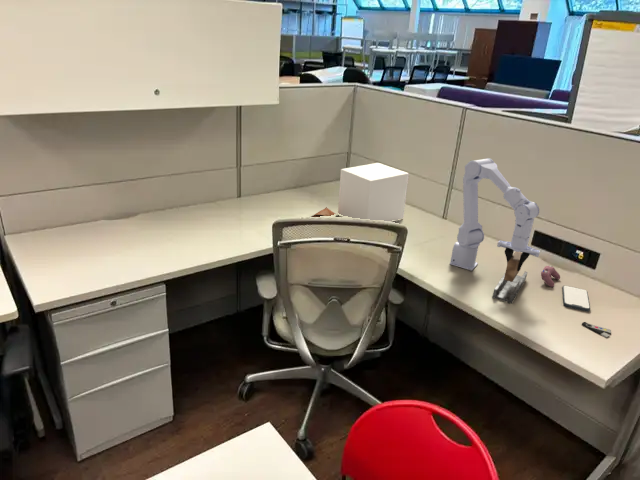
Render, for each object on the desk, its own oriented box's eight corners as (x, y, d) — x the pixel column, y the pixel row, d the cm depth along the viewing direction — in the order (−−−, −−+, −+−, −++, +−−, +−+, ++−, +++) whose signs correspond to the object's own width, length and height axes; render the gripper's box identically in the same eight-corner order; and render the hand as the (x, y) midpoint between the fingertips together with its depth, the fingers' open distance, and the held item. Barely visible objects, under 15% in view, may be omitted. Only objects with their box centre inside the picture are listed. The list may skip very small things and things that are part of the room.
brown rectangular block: (503, 279, 178) (507, 262, 175) (512, 267, 188) (515, 251, 185) (512, 282, 177) (516, 264, 174) (520, 269, 186) (524, 253, 183)
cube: (374, 207, 261) (378, 162, 251) (403, 220, 245) (408, 173, 235) (337, 216, 246) (340, 169, 236) (366, 230, 231) (370, 180, 221)
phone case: (561, 288, 188) (562, 307, 175) (562, 284, 188) (563, 303, 174) (586, 293, 185) (589, 313, 172) (587, 289, 185) (591, 309, 171)
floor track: (492, 297, 178) (494, 289, 177) (507, 274, 195) (509, 267, 194) (511, 303, 175) (514, 295, 173) (525, 280, 192) (527, 272, 190)
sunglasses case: (323, 226, 231) (317, 214, 230) (312, 231, 235) (306, 218, 234) (339, 215, 246) (334, 203, 245) (328, 219, 250) (323, 207, 249)
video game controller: (549, 279, 196) (545, 263, 195) (561, 278, 193) (557, 262, 192) (542, 288, 189) (537, 271, 188) (554, 287, 186) (549, 270, 185)
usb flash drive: (580, 325, 164) (581, 323, 164) (589, 321, 167) (590, 318, 166) (605, 339, 158) (606, 336, 157) (614, 334, 160) (615, 331, 160)
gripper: (498, 233, 176) (491, 266, 182) (540, 244, 169) (531, 278, 175) (503, 227, 182) (496, 260, 187) (544, 237, 175) (535, 271, 180)
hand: (513, 268), depth 181 cm, fingers closed on brown rectangular block, 3 cm apart
